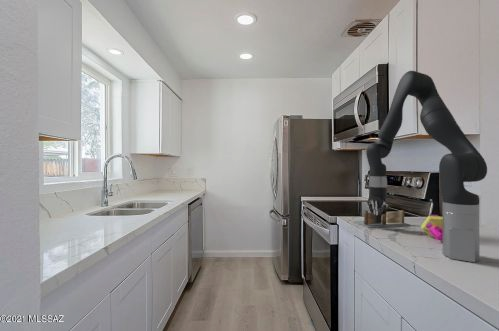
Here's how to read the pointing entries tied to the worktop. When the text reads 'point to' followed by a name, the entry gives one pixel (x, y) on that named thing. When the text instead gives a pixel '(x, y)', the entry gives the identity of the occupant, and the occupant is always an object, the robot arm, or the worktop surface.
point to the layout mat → (380, 224)
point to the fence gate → (370, 218)
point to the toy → (434, 227)
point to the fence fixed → (393, 217)
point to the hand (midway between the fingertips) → (377, 222)
